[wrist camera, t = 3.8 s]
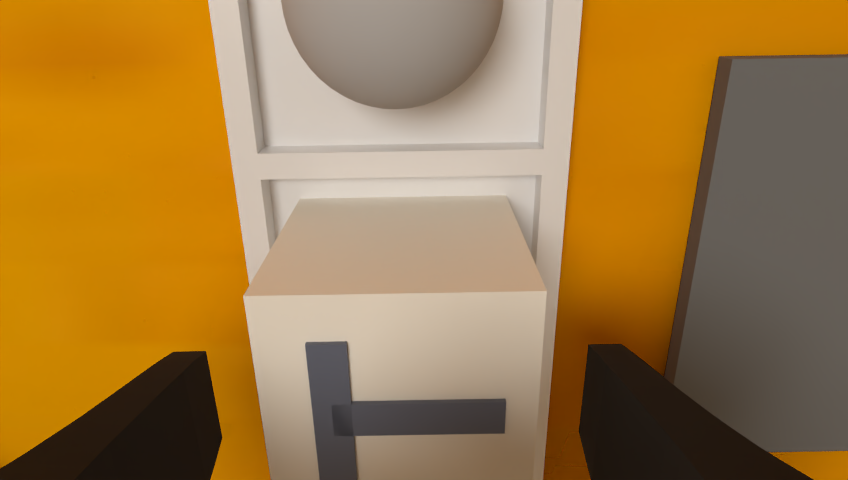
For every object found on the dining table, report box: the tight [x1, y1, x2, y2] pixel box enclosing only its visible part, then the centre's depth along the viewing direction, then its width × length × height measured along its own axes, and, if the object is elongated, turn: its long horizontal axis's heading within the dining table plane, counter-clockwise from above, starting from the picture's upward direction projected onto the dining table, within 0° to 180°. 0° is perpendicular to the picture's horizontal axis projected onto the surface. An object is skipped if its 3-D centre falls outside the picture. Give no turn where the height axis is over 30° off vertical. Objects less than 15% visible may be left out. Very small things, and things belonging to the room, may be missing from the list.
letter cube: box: [243, 195, 547, 480], centre depth 13 cm, size 5×5×5 cm
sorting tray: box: [208, 0, 583, 480], centre depth 15 cm, size 22×8×1 cm, turn 1°
